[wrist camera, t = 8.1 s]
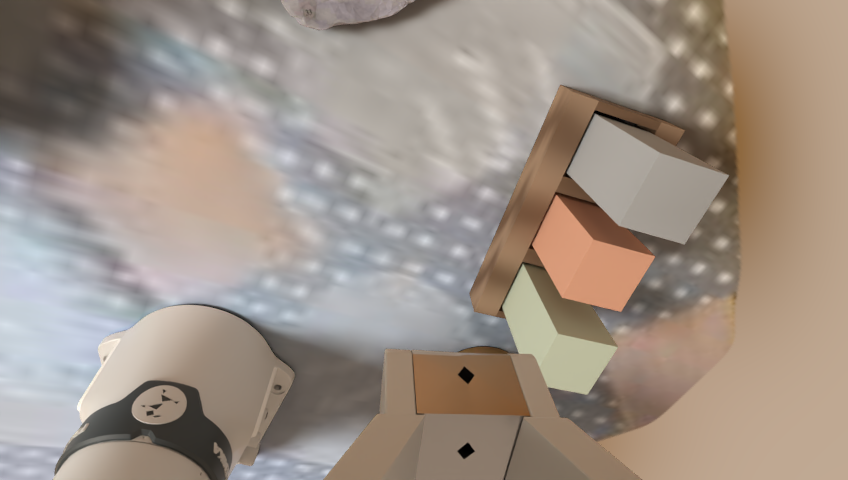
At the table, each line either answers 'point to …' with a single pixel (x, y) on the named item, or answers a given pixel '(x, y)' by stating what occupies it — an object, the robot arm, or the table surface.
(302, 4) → the stone block
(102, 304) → the table surface
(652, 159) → the slate block
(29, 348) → the table surface
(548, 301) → the sage block
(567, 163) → the walnut rack
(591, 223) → the terracotta block
